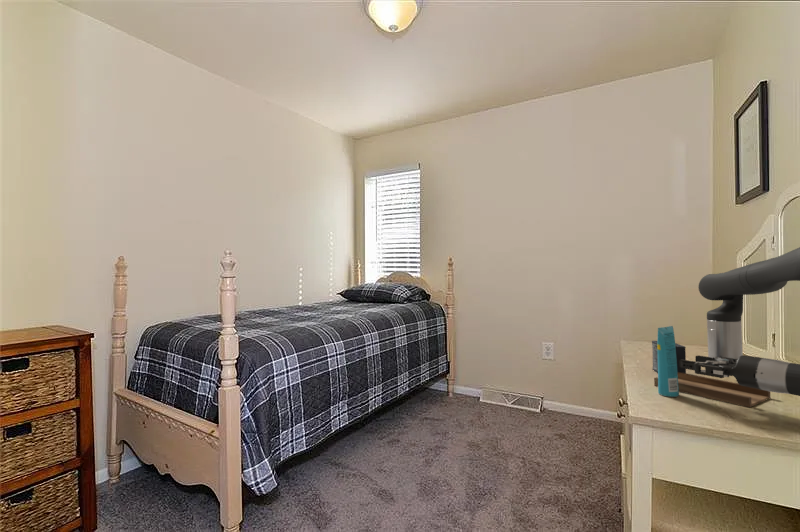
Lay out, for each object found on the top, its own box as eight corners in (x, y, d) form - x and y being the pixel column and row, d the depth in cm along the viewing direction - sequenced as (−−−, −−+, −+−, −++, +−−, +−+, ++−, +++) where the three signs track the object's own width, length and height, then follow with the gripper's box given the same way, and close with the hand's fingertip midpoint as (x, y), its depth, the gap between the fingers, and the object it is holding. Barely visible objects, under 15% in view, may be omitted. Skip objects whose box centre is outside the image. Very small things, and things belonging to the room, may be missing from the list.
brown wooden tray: (676, 379, 127) (676, 371, 127) (770, 398, 107) (770, 389, 107) (654, 385, 121) (654, 377, 121) (749, 407, 101) (749, 397, 101)
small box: (688, 378, 127) (687, 346, 127) (665, 378, 129) (664, 345, 129) (672, 370, 138) (671, 340, 138) (651, 370, 139) (650, 340, 139)
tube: (664, 390, 116) (662, 324, 116) (683, 394, 112) (681, 326, 112) (652, 395, 112) (650, 327, 112) (672, 399, 108) (669, 329, 108)
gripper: (776, 354, 97) (700, 344, 111) (751, 362, 90) (673, 350, 104) (777, 385, 97) (701, 371, 111) (752, 395, 90) (674, 379, 104)
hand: (688, 361), depth 108 cm, fingers open, 8 cm apart
